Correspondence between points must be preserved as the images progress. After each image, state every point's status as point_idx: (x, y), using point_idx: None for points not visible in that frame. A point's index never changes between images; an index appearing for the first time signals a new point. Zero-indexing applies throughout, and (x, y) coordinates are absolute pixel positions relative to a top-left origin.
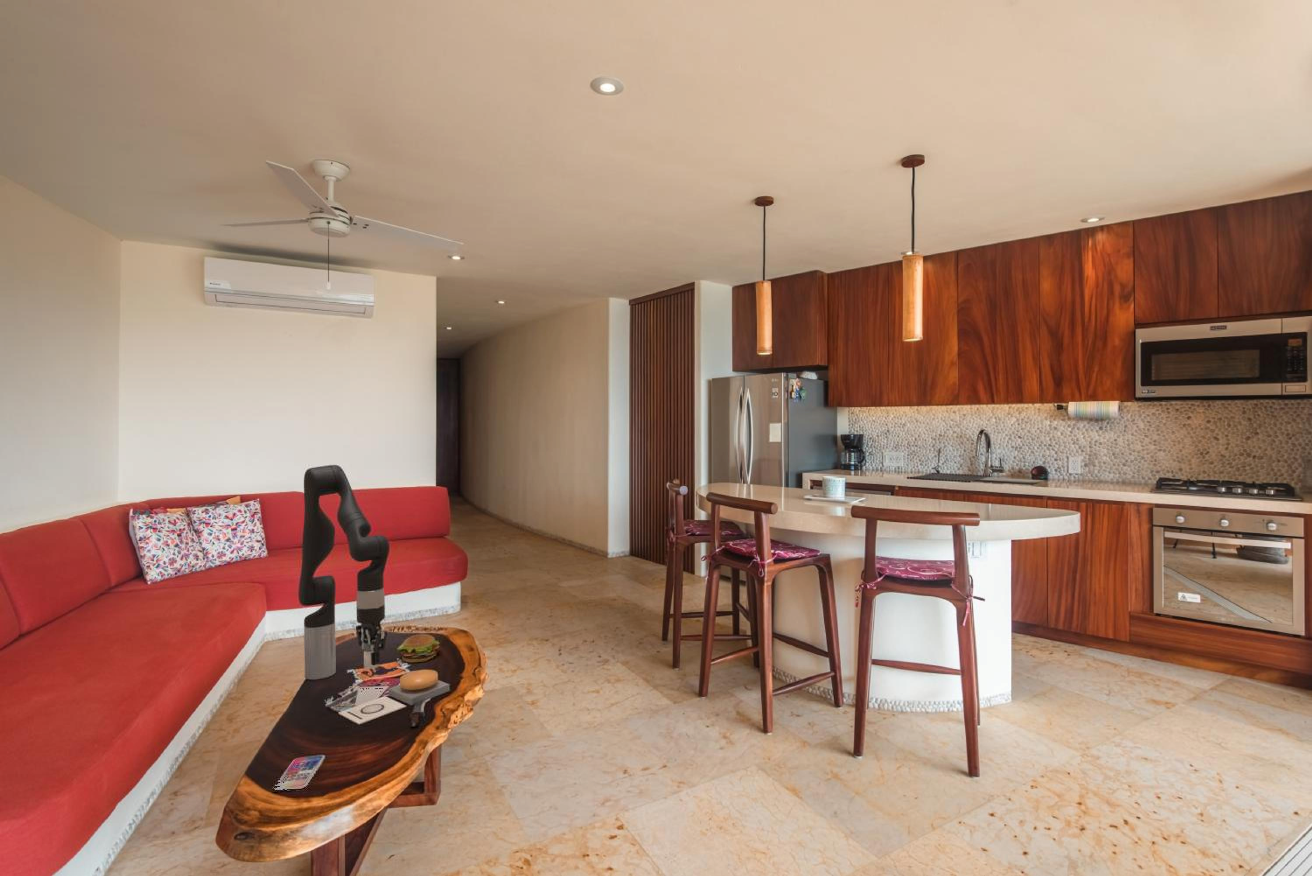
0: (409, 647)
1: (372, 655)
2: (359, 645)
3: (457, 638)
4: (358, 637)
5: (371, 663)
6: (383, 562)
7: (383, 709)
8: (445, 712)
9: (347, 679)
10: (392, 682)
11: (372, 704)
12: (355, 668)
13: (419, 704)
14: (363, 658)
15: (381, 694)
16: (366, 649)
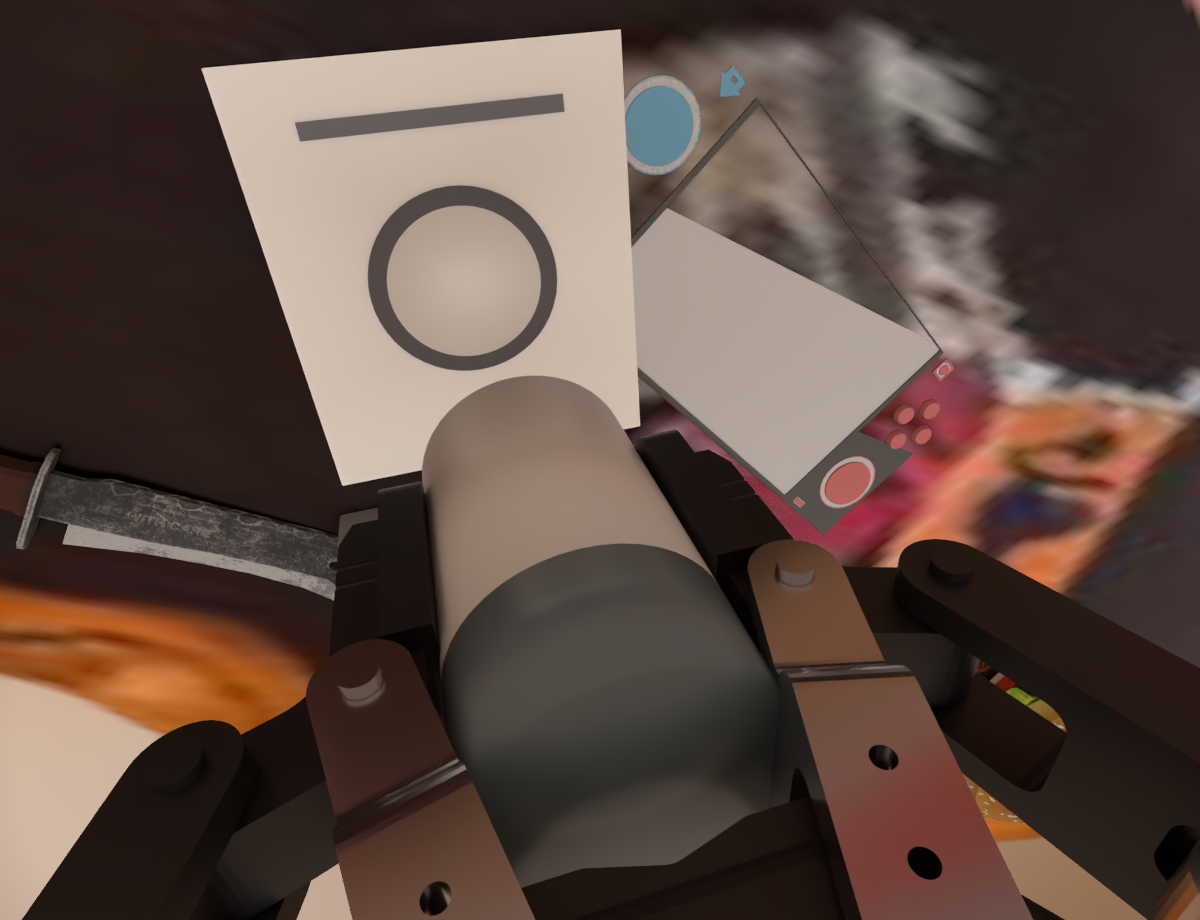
0: (1039, 712)
1: (375, 604)
2: (935, 548)
3: (999, 826)
4: (1120, 669)
5: (412, 493)
6: None
7: (391, 345)
8: (32, 646)
9: (1114, 334)
10: (817, 520)
11: (559, 315)
12: (1192, 421)
13: (296, 557)
14: (690, 453)
15: (697, 420)
16: (525, 611)
